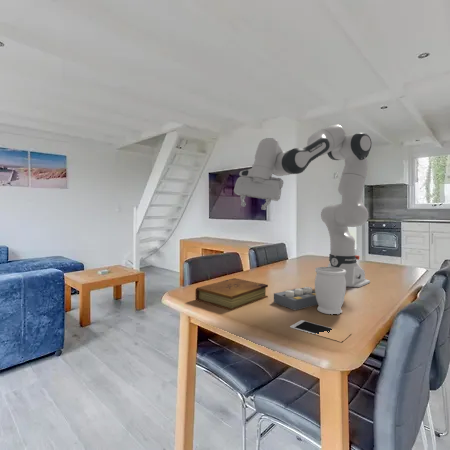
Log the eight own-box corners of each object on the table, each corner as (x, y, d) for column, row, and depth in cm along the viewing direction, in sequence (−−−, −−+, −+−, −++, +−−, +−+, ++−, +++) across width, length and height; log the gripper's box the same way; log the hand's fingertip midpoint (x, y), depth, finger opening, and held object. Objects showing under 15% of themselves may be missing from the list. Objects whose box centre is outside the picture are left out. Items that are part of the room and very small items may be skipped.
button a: (289, 297, 117) (289, 289, 117) (295, 299, 114) (296, 291, 114) (283, 298, 115) (283, 291, 115) (289, 301, 112) (289, 293, 112)
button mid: (298, 295, 120) (298, 288, 120) (305, 297, 117) (305, 289, 117) (292, 296, 118) (293, 289, 118) (299, 298, 115) (299, 291, 115)
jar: (309, 306, 113) (310, 266, 112) (336, 306, 114) (337, 266, 113) (321, 316, 102) (322, 272, 101) (350, 316, 103) (352, 272, 102)
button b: (307, 293, 122) (307, 286, 122) (313, 295, 120) (313, 288, 120) (301, 295, 121) (302, 287, 121) (308, 296, 118) (308, 289, 118)
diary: (232, 290, 137) (232, 277, 137) (267, 298, 125) (267, 284, 125) (195, 301, 120) (195, 286, 120) (231, 311, 108) (231, 295, 108)
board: (302, 296, 127) (302, 287, 126) (324, 302, 117) (324, 293, 117) (273, 302, 118) (273, 292, 118) (294, 310, 109) (295, 300, 108)
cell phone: (342, 344, 82) (342, 342, 82) (289, 328, 93) (289, 326, 93) (352, 335, 88) (352, 333, 88) (301, 321, 99) (301, 319, 99)
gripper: (286, 180, 124) (278, 213, 123) (242, 175, 135) (235, 206, 134) (282, 176, 119) (273, 210, 118) (236, 171, 129) (228, 202, 128)
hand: (252, 207), depth 126 cm, fingers open, 8 cm apart
